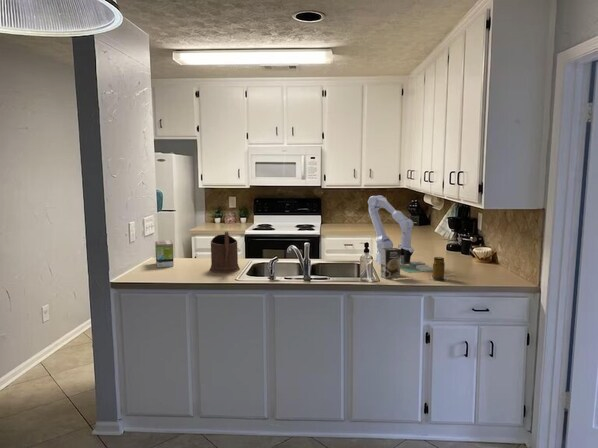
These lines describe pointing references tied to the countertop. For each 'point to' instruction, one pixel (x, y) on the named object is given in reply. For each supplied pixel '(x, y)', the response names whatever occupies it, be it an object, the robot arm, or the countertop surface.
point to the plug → (403, 260)
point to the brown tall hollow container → (224, 254)
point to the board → (417, 268)
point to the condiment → (438, 269)
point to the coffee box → (390, 262)
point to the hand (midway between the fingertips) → (405, 261)
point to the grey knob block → (416, 263)
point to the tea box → (164, 254)
